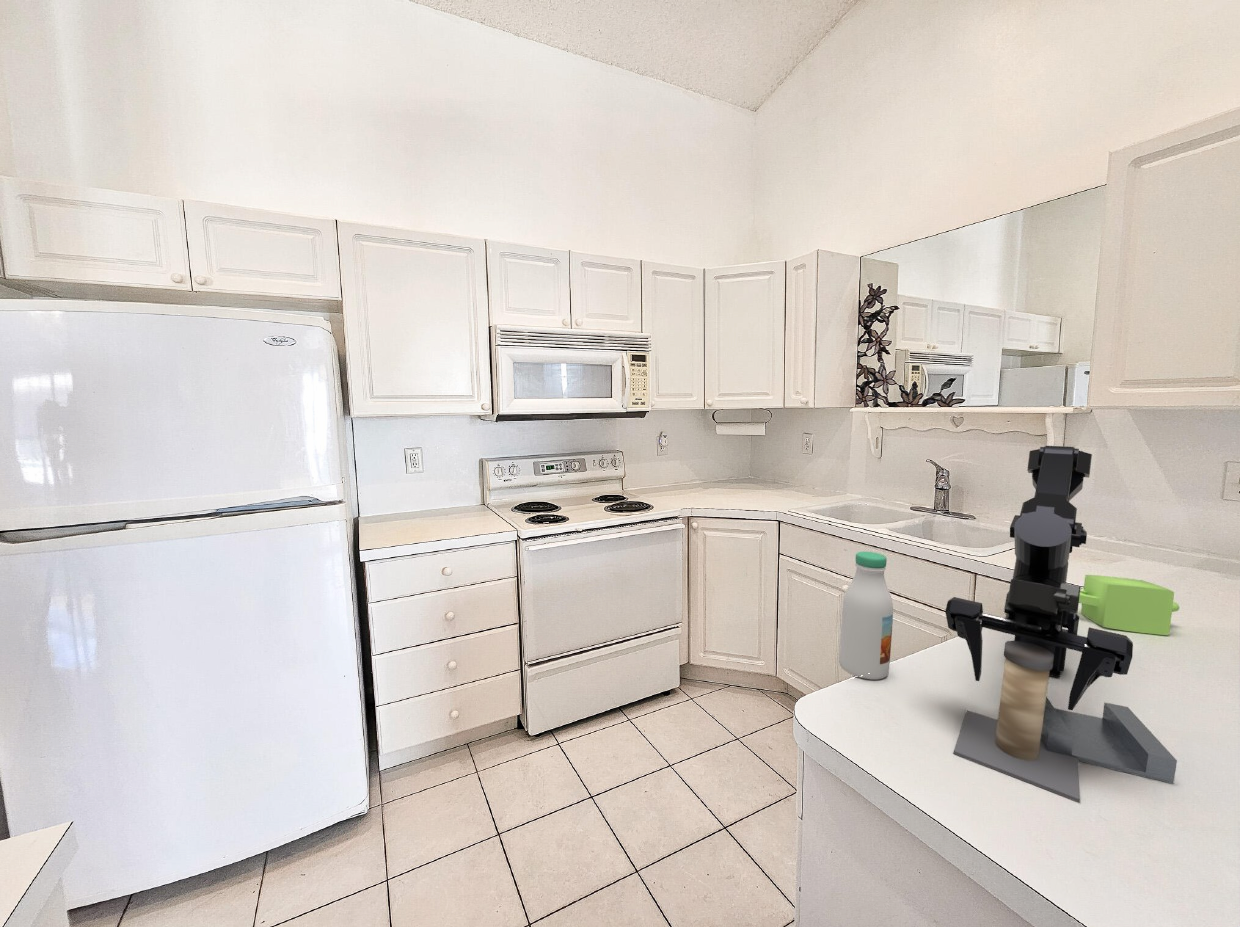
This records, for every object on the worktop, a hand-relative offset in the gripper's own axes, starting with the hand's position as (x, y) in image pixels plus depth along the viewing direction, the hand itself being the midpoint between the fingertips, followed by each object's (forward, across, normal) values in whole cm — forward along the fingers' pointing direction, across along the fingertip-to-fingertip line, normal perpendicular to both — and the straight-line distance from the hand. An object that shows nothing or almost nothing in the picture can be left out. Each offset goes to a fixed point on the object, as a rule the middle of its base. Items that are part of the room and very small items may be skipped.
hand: (1021, 693), depth 63 cm
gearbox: (-42, +12, +55) cm, 71 cm away
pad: (+5, 0, +7) cm, 9 cm away
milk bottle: (-1, -21, +13) cm, 25 cm away
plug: (+5, 0, +7) cm, 8 cm away
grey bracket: (-2, +7, +14) cm, 16 cm away
